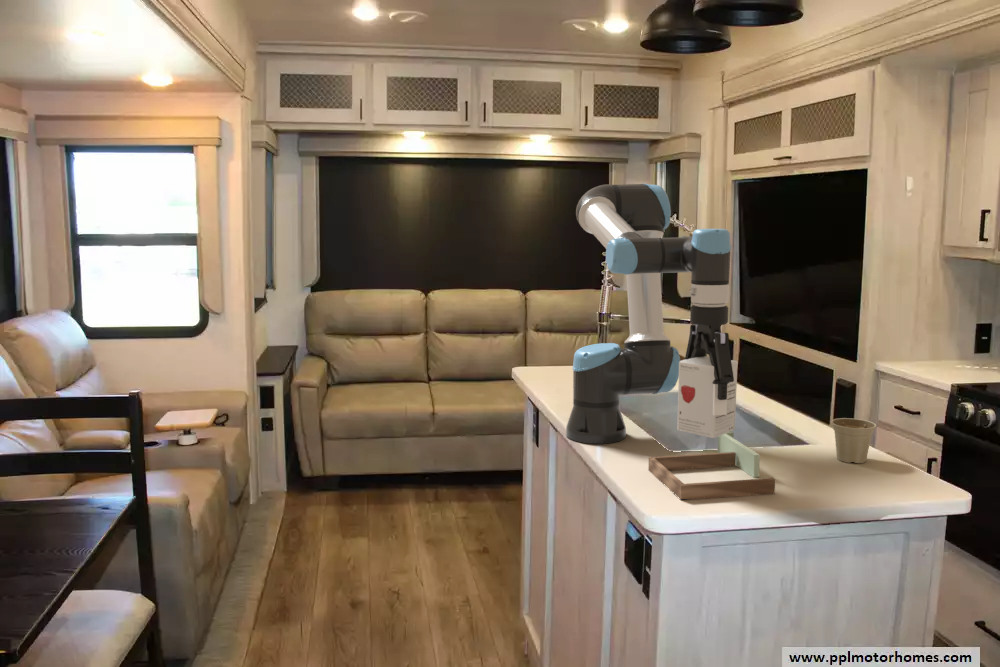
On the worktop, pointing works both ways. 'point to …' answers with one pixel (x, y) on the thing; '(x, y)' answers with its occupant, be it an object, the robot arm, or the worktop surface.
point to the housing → (707, 489)
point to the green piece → (740, 454)
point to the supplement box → (703, 399)
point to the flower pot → (852, 439)
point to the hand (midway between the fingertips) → (706, 407)
